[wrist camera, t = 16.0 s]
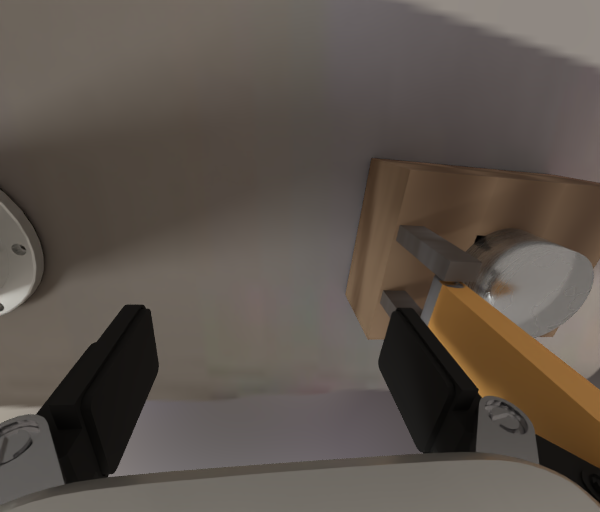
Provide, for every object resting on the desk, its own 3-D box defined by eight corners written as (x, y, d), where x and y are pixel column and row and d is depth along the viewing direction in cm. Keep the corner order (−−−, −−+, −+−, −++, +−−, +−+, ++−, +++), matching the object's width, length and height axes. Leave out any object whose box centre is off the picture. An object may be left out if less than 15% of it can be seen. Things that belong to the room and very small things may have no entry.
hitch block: (345, 294, 26) (398, 399, 16) (371, 157, 21) (471, 188, 11) (497, 296, 28) (624, 388, 19) (552, 174, 23) (766, 211, 14)
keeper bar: (435, 321, 16) (412, 321, 15) (453, 274, 14) (428, 273, 14) (635, 544, 7) (591, 551, 7) (716, 478, 6) (666, 484, 6)
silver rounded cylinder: (406, 270, 25) (477, 340, 17) (425, 203, 22) (519, 248, 14) (466, 271, 26) (561, 339, 18) (491, 208, 23) (614, 253, 15)
